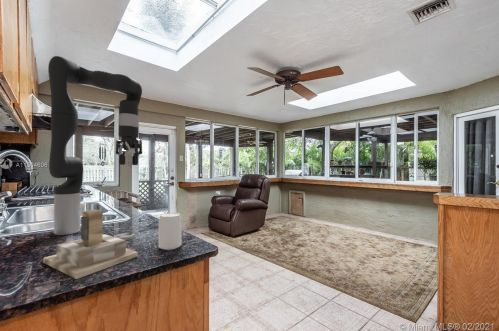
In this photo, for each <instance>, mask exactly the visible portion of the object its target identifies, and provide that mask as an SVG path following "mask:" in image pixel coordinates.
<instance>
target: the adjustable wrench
mask: <svg viewBox="0 0 499 331" xmlns="http://www.w3.org/2000/svg"><path fill="white" fill-rule="evenodd" d="M113 237H116V238H120V239H123V240H126V241H129V240H134V239H135V238H136V233H132V234H129V232H123V233H119V234H116V235H114V236H113Z"/></svg>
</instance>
